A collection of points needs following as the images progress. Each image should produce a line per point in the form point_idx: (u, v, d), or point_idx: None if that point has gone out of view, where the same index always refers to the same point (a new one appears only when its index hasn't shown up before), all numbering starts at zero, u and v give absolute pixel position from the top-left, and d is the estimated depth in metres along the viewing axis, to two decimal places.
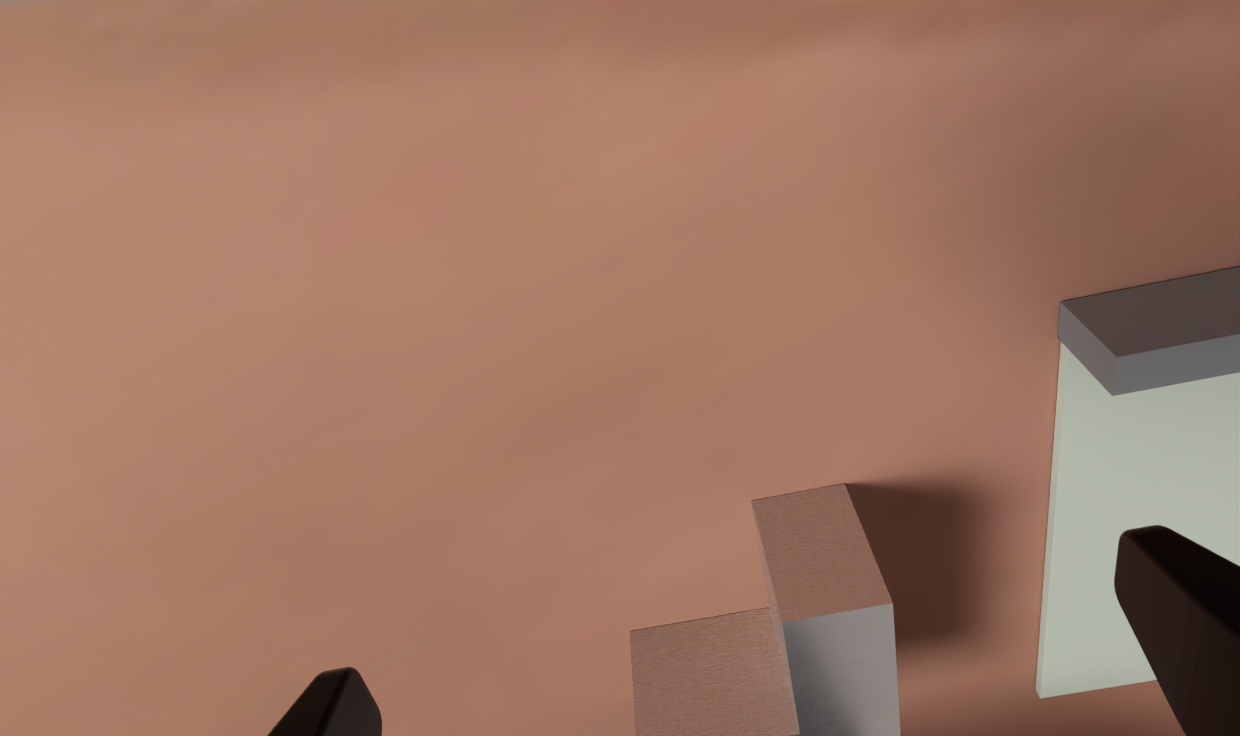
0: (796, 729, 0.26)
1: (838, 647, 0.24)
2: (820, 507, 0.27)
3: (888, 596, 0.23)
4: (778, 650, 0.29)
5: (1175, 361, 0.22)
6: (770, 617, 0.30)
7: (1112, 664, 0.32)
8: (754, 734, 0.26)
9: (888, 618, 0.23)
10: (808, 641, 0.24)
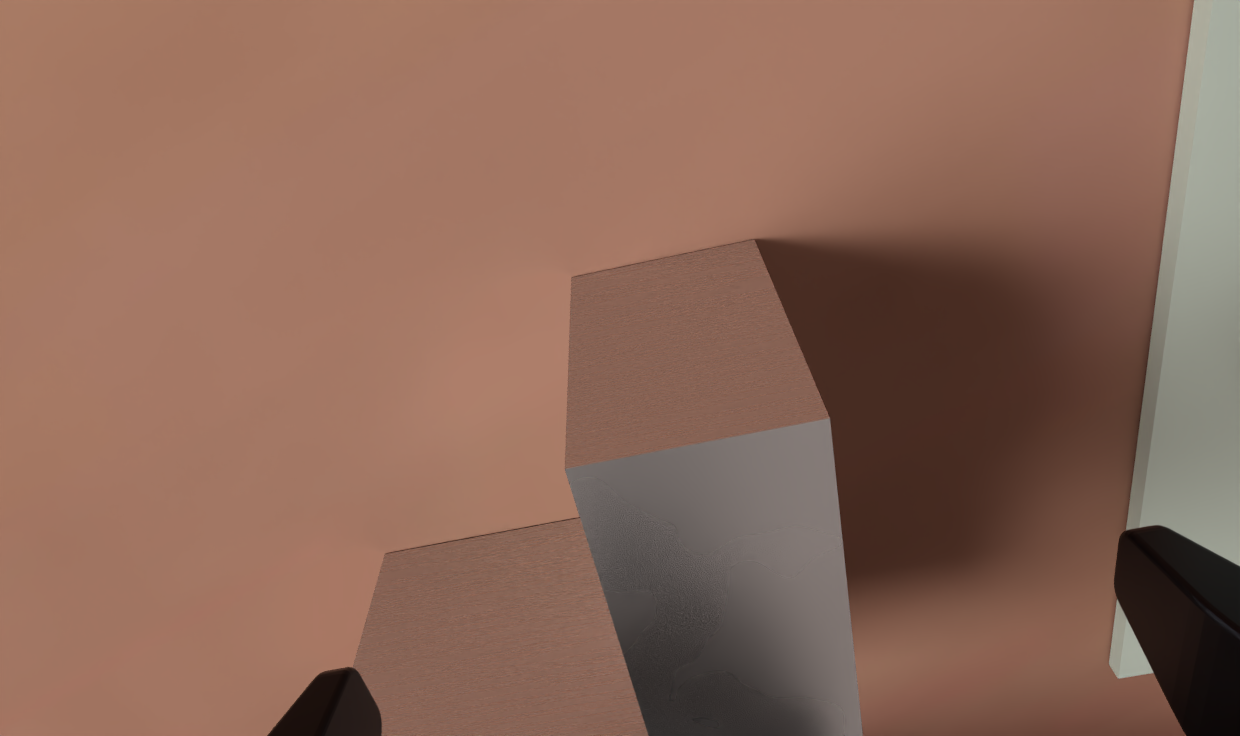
0: (644, 729, 0.12)
1: (708, 536, 0.10)
2: (700, 275, 0.13)
3: (820, 406, 0.10)
4: None
5: None
6: None
7: None
8: None
9: (821, 460, 0.10)
10: (636, 519, 0.10)
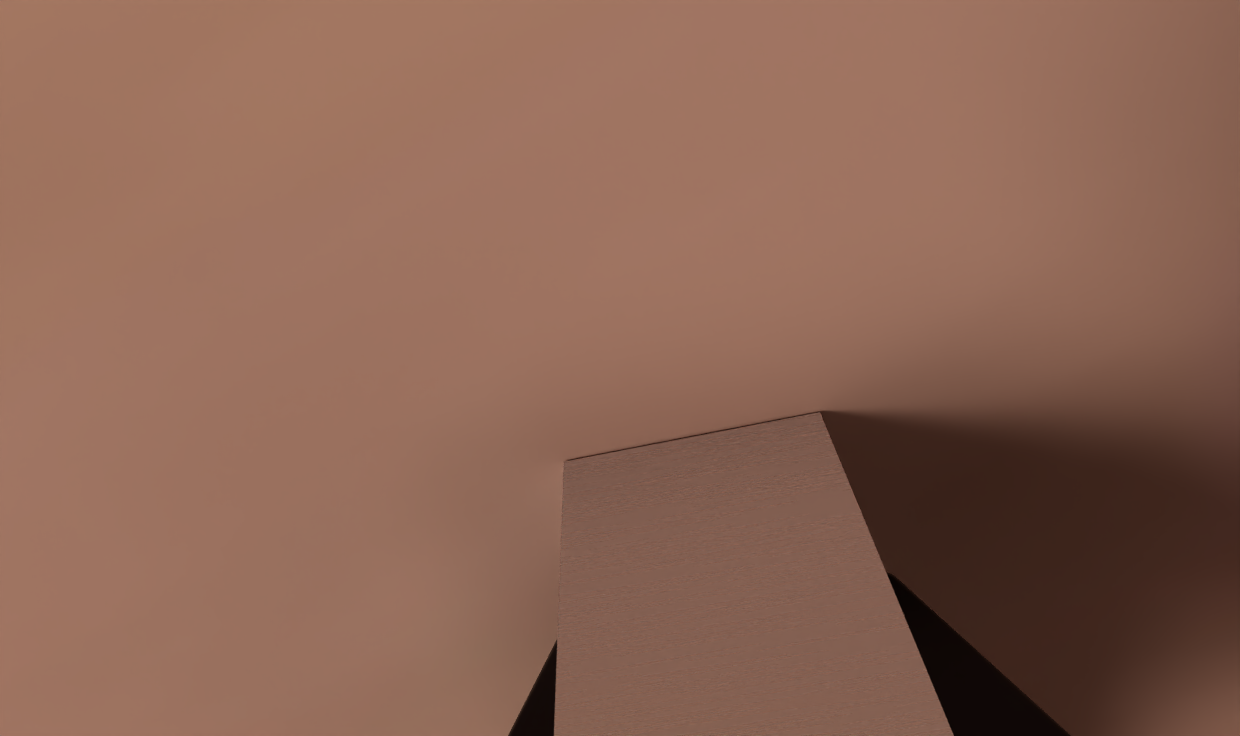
0: None
1: None
2: (747, 475, 0.09)
3: None
4: None
5: None
6: None
7: None
8: None
9: None
10: None
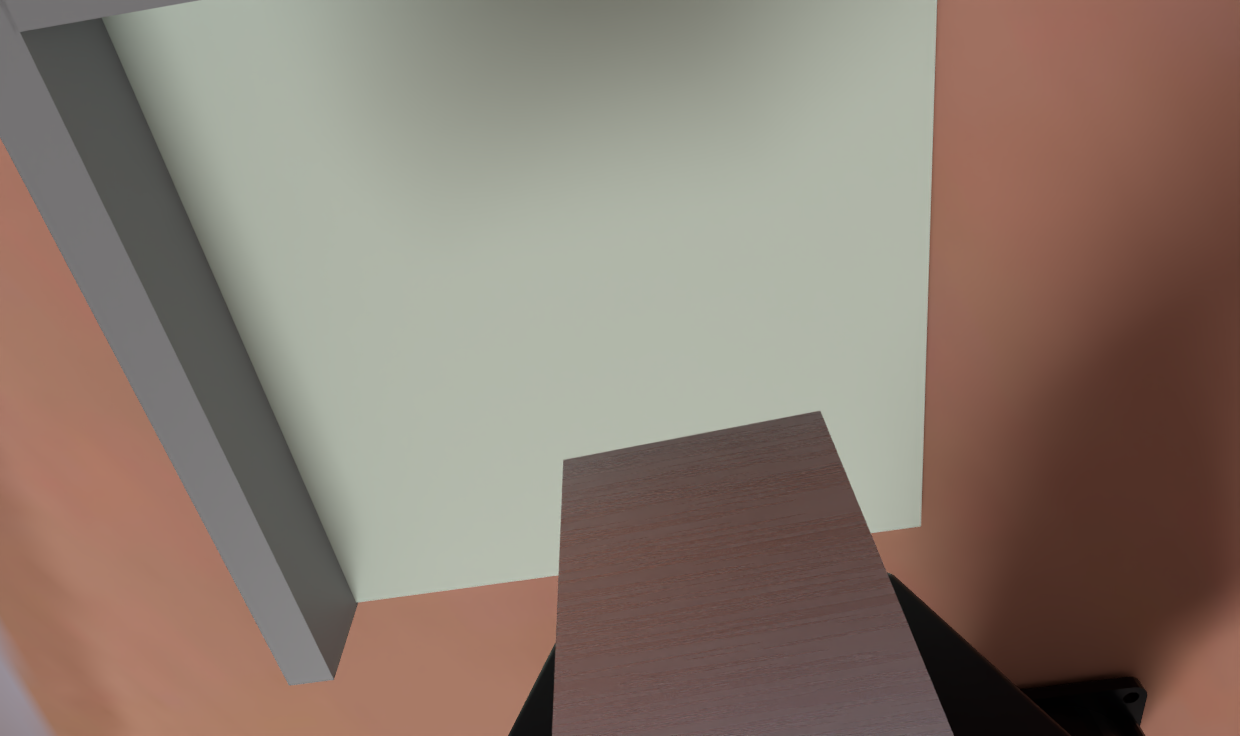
0: None
1: None
2: (747, 474, 0.09)
3: None
4: None
5: (287, 643, 0.22)
6: None
7: (870, 459, 0.22)
8: None
9: None
10: None
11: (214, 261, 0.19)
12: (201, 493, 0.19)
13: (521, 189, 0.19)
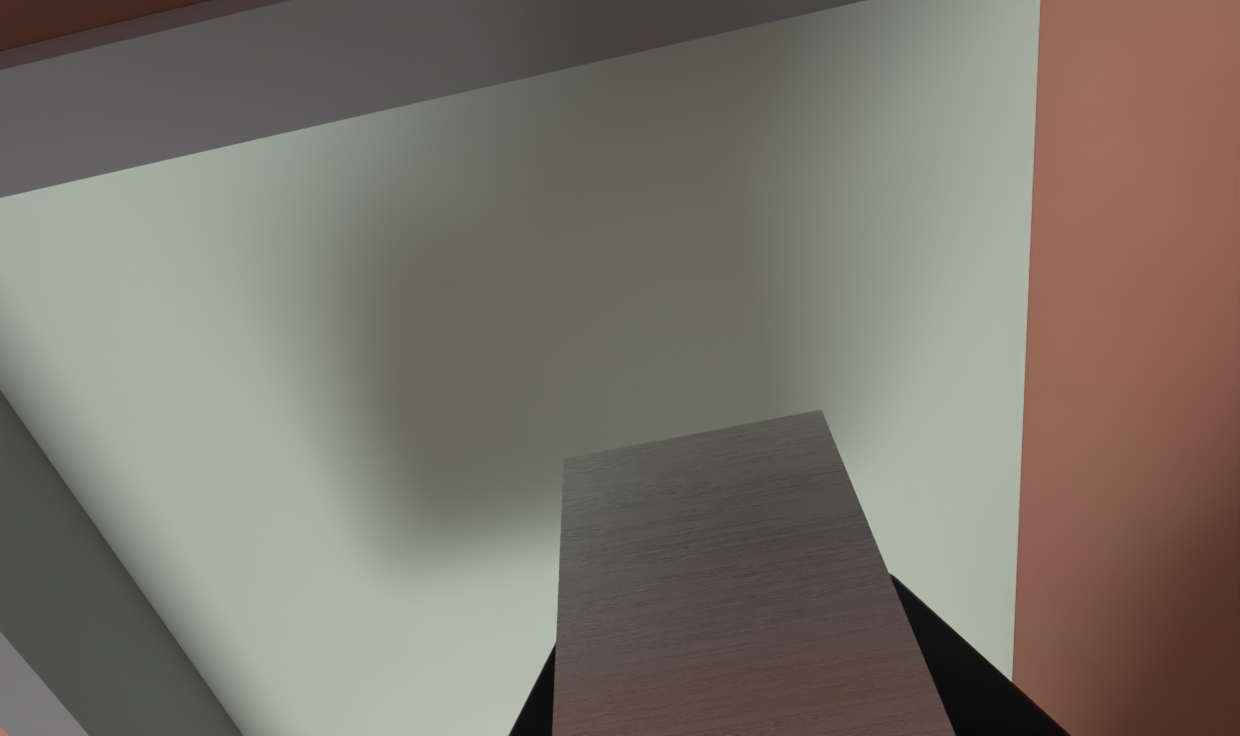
0: None
1: None
2: (748, 473, 0.09)
3: None
4: None
5: None
6: None
7: None
8: None
9: None
10: None
11: (75, 483, 0.15)
12: None
13: (470, 377, 0.14)
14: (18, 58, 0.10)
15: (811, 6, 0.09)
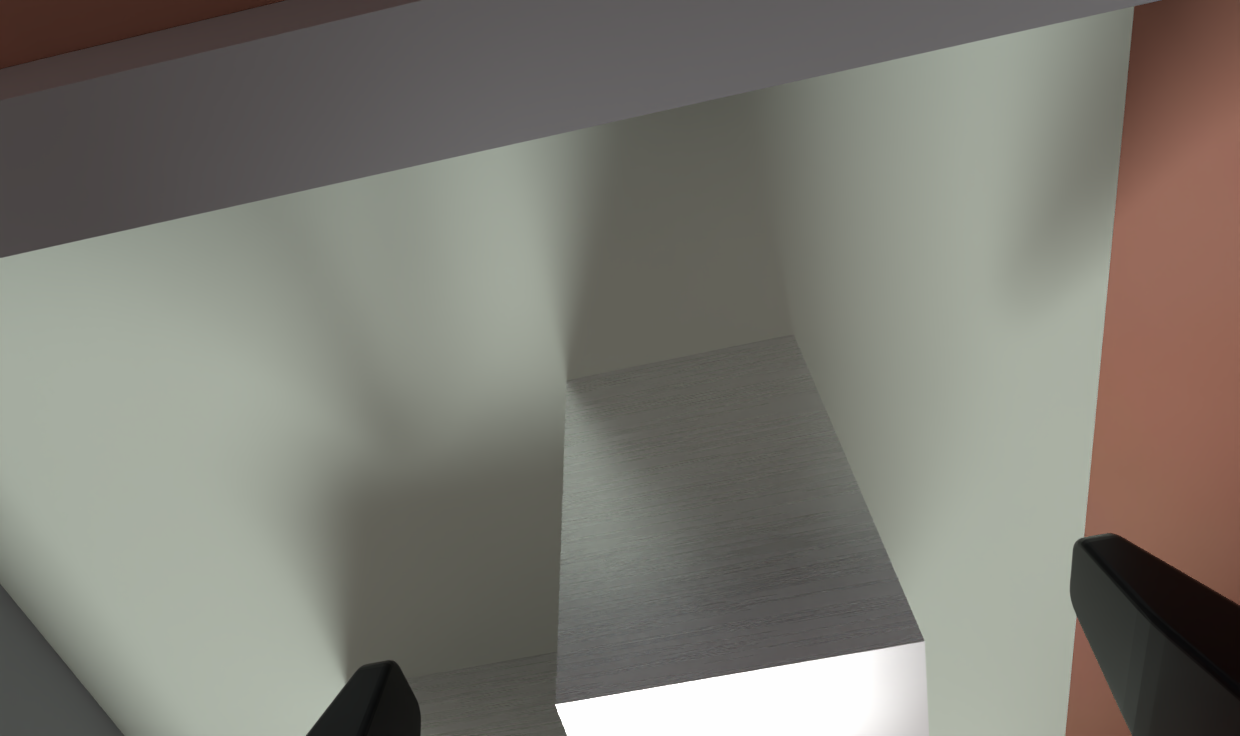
0: None
1: None
2: (728, 385, 0.10)
3: (909, 617, 0.07)
4: None
5: None
6: None
7: None
8: None
9: (909, 690, 0.07)
10: None
11: (6, 576, 0.13)
12: None
13: (455, 461, 0.12)
14: None
15: (875, 55, 0.07)
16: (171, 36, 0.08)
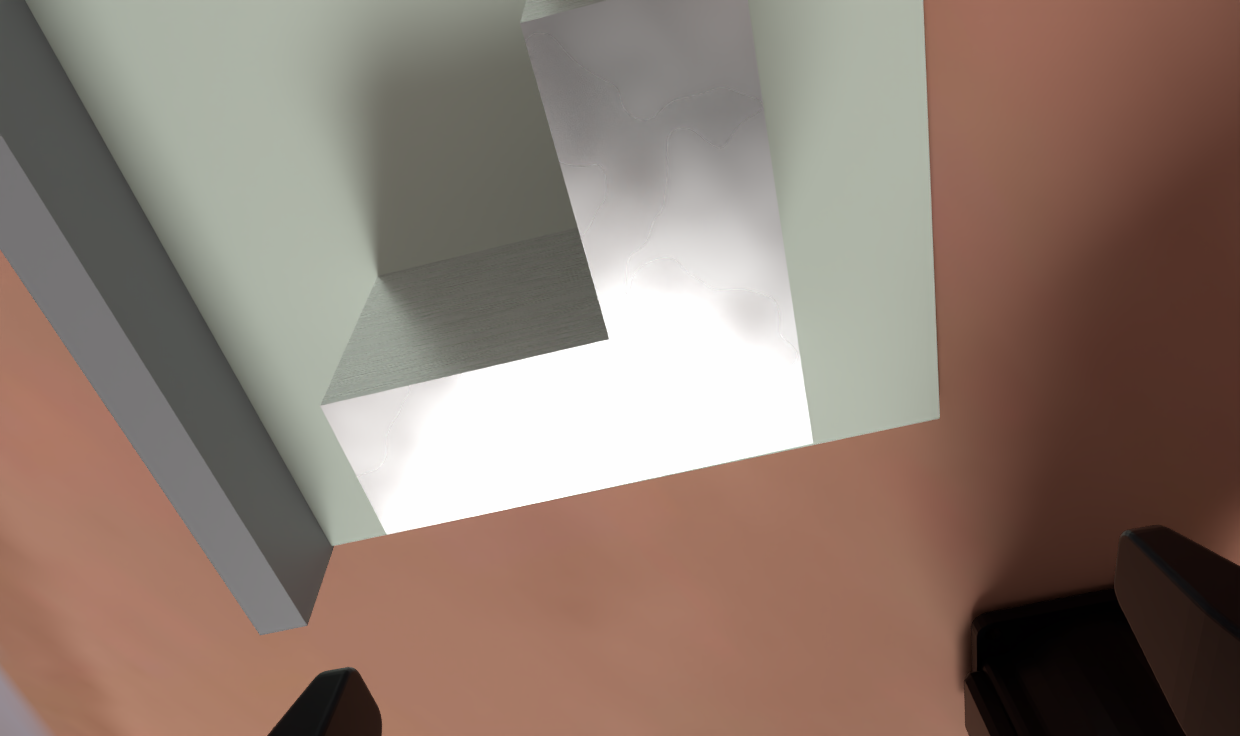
0: (605, 335, 0.14)
1: (647, 100, 0.12)
2: None
3: None
4: None
5: (250, 588, 0.20)
6: None
7: (878, 344, 0.20)
8: (530, 350, 0.14)
9: (738, 11, 0.11)
10: (585, 81, 0.12)
11: (124, 162, 0.17)
12: (131, 421, 0.17)
13: (455, 48, 0.16)
14: None
15: None
16: None
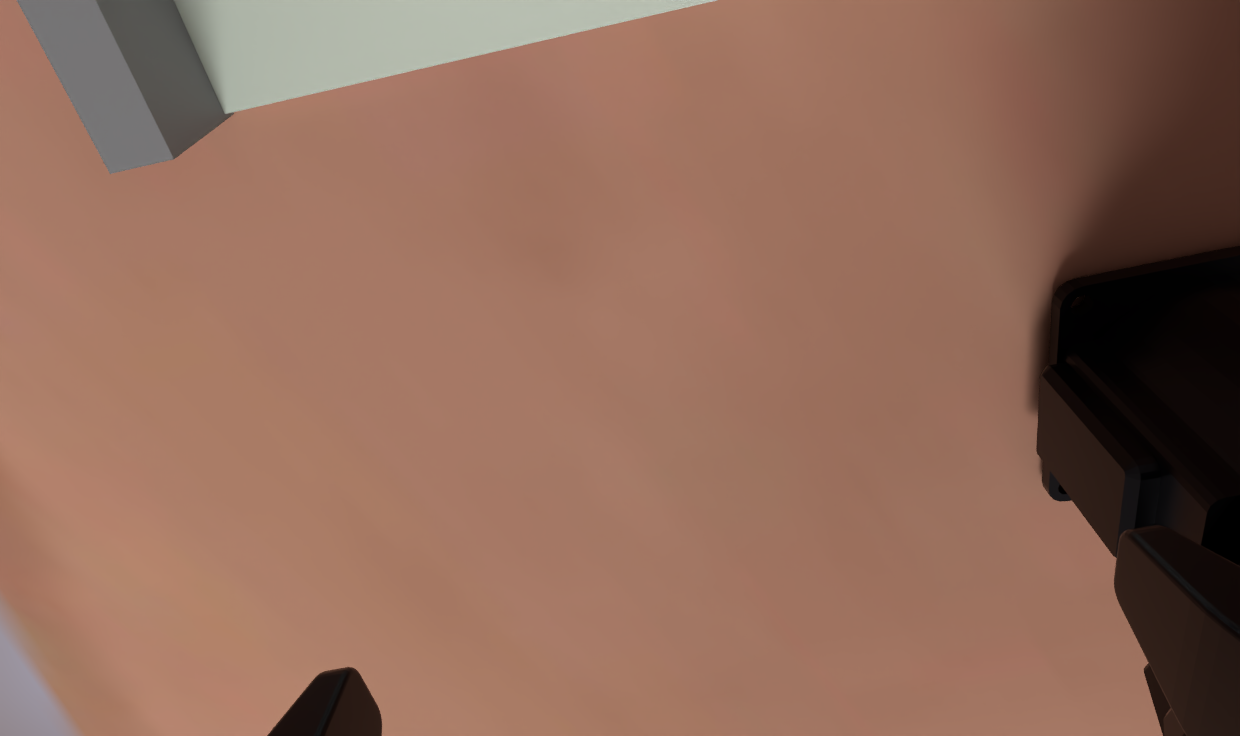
0: None
1: None
2: None
3: None
4: None
5: (91, 82, 0.14)
6: None
7: None
8: None
9: None
10: None
11: None
12: None
13: None
14: None
15: None
16: None
